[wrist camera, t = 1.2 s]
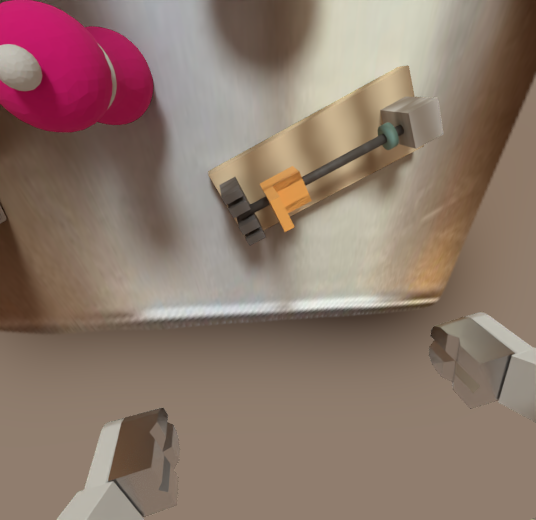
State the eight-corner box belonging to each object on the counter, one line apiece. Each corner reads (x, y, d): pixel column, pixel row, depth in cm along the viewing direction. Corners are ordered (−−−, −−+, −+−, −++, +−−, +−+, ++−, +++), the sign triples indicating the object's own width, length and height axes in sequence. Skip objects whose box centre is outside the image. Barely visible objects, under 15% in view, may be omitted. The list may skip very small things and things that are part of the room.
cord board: (398, 66, 34) (443, 61, 28) (414, 143, 39) (456, 154, 32) (208, 171, 36) (209, 189, 29) (244, 233, 40) (252, 260, 34)
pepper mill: (171, 106, 32) (132, 125, 15) (106, 131, 32) (-9, 178, 15) (135, 23, 28) (26, -82, 11) (61, 51, 28) (-161, -10, 11)
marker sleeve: (292, 165, 33) (309, 180, 27) (304, 193, 34) (322, 212, 29) (259, 183, 33) (269, 201, 28) (272, 210, 35) (285, 232, 29)
